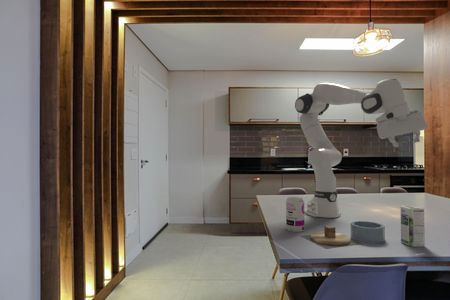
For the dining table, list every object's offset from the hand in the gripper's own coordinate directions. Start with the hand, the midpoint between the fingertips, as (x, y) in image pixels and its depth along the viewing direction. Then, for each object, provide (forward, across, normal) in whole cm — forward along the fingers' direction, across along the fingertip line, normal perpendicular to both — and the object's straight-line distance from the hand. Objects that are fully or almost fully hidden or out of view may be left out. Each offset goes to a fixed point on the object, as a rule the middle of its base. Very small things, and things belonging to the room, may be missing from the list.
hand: (406, 144), depth 117 cm
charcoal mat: (+31, +43, 0) cm, 53 cm away
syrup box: (+38, +14, +6) cm, 41 cm away
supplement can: (+28, +52, -16) cm, 61 cm away
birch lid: (+31, +43, 0) cm, 53 cm away
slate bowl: (+34, +27, -1) cm, 44 cm away
